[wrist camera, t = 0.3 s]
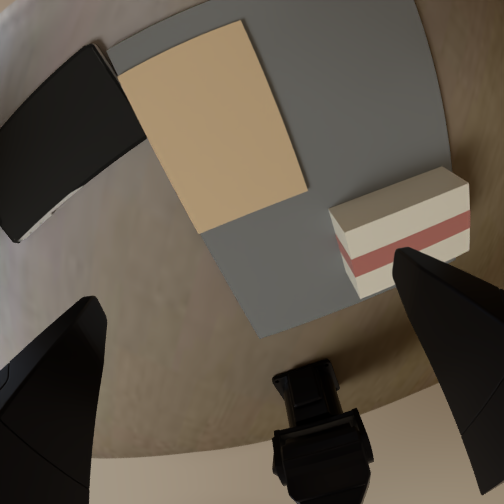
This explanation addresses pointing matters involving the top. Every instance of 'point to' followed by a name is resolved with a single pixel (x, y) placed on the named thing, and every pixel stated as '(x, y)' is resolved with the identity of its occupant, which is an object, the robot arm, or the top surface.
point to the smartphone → (62, 140)
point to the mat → (285, 133)
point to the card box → (402, 226)
